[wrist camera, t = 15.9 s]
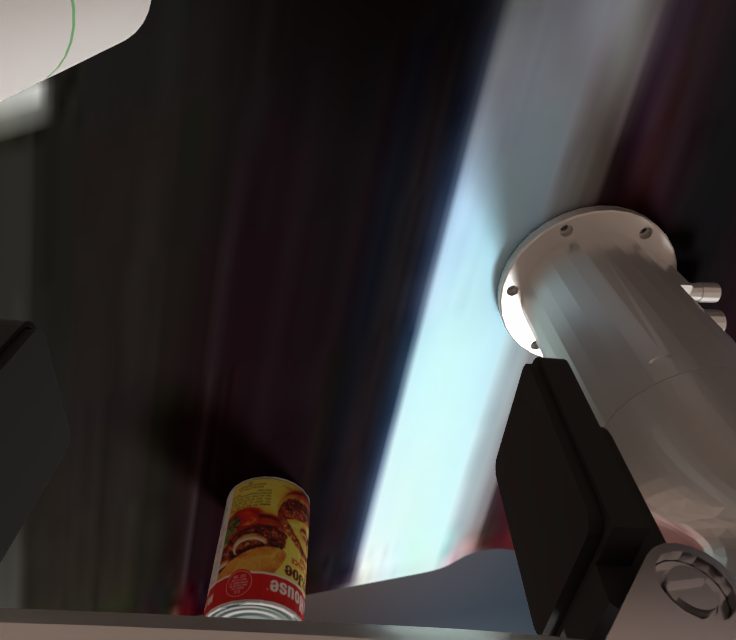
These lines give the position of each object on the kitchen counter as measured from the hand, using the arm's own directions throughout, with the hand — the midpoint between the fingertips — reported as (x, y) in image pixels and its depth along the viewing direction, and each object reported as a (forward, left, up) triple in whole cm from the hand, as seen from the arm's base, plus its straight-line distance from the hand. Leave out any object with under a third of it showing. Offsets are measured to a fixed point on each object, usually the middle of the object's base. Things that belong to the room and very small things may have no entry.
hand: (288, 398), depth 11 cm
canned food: (+5, +38, -28) cm, 47 cm away
